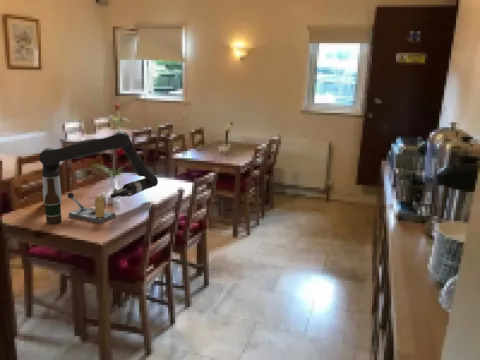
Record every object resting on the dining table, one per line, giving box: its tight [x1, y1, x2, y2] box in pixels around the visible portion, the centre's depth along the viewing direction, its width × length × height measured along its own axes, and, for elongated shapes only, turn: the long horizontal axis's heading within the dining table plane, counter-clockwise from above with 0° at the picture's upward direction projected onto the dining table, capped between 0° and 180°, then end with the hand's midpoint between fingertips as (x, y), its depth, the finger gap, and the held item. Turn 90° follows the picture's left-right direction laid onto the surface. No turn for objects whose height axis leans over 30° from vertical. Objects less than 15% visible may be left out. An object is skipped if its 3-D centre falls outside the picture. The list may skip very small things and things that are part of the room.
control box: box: [68, 206, 116, 224], centre depth 224 cm, size 22×12×2 cm, turn 66°
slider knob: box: [94, 195, 105, 217], centre depth 217 cm, size 4×4×11 cm
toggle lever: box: [67, 192, 85, 209], centre depth 223 cm, size 3×3×14 cm
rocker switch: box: [88, 206, 95, 212], centre depth 226 cm, size 4×4×2 cm
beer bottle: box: [44, 178, 62, 225], centre depth 211 cm, size 8×8×24 cm
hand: (111, 196), depth 225 cm, fingers closed
